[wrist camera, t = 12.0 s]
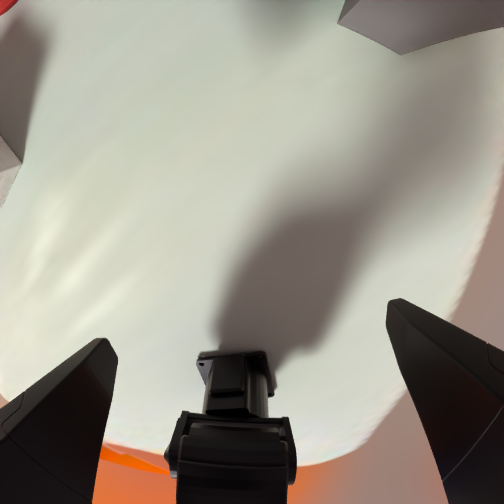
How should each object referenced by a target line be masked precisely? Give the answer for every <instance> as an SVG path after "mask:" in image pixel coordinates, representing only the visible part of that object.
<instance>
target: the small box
mask: <svg viewBox="0 0 504 504" xmlns="http://www.w3.org/2000/svg"><path fill="white" fill-rule="evenodd" d="M21 165H22V163H21V161H20V160H19V159H18V158H17V157H16V155H15V154H14V153H13V151H12V150H11V149H10V148H9V146H8V145H7V144H6V142H5V141H4V140H3V138H2V137H1V136H0V208H1V207H2V206H3V203H4V201H5V199H6V196H7V194H8V192H9V190H10V188H11V186H12V183H13V181H14V179H15V177H16V175H17V173H18V171H19V169H20V167H21Z"/></svg>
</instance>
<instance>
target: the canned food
mask: <svg viewBox="0 0 504 504" xmlns="http://www.w3.org/2000/svg"><path fill="white" fill-rule="evenodd" d="M17 1H18V0H0V16H1V15H2V14H4V13H5V12H7V11H8V10H9V9H10V8H11V7H12V6H13V5H14V4H15V3H16V2H17Z"/></svg>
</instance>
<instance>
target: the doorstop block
mask: <svg viewBox="0 0 504 504" xmlns="http://www.w3.org/2000/svg"><path fill="white" fill-rule="evenodd" d="M337 24H339V25H341V26H344V27H346V28H348V29H350V30H353V31H355V32H357V33H359V34H361V35H363V36H365V37H367V38H369V39H371V40H373V41H375V42H377V43H379V44H381V45H383V46H385V47H387V48H389V49H391V50H392V51H394V52H396V53H398V54H399V55H403V54H406V53H409V52H412V51H414V50H417V49H421V48H424V47H427V46H430V45H433V44H436V43H440V42H443V41H447V40H450V39H454V38H457V37H461V36H465V35H469V34H473V33H477V32H481V31H486V30H491V29H496V28H501V27H504V0H345V3H344V6H343V9H342V11H341V14H340V17H339V20H338V23H337Z"/></svg>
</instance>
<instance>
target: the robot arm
mask: <svg viewBox="0 0 504 504" xmlns="http://www.w3.org/2000/svg"><path fill="white" fill-rule="evenodd" d="M386 329H387V332H388V335H389V338H390V341H391V344H392V347H393V350H394V353H395V357H396V360H397V363H398V366H399V369H400V372H401V374H402V376H403V379H404V381H405V383H406V386H407V388H408V390H409V393H410V395H411V397H412V400H413V402H414V405H415V407H416V410H417V412H418V415H419V417H420V420H421V422H422V425H423V428H424V430H425V433H426V435H427V438H428V441H429V444H430V447H431V449H432V452H433V455H434V458H435V461H436V464H437V467H438V470H439V473H440V476H441V479H442V481H443V486H444V489H445V493H446V496H447V499H448V503H449V504H504V351H502V350H500V349H498V348H496V347H495V346H493V345H491V344H489V343H488V344H487V343H486V342H485V341H483V340H481V339H479V338H478V337H476V336H474V335H472V334H470V333H468V332H466V331H464V330H462V329H461V328H459V327H457V326H455V325H453V324H451V323H449V322H447V321H445V320H443V319H441V318H439V317H438V316H436V315H434V314H432V313H430V312H428V311H426V310H424V309H422V308H420V307H418V306H416V305H414V304H412V303H410V302H408V301H406V300H404V299H402V298H398V299H393V300H390V301H389V302H388V305H387V315H386ZM260 356H262V357H260ZM117 365H118V357H117V355H116V353H115V351H114V349H113V347H112V346H111V344H110V342H109V340H108V339H107V338H95V339H94V340H92V341H91V342H90V343H88V344H87V345H86V346H84V347H83V348H82V349H80V350H79V351H77V352H76V353H75V354H73V355H72V356H71V357H69V358H68V359H67V360H65V361H64V362H63V363H61V364H60V365H59V366H57V367H56V368H54V369H53V370H52V371H50V372H49V373H48V374H46V375H45V376H44V377H42V378H41V379H40V380H38V381H37V382H36V383H34V384H33V385H32V386H31V387H29V388H28V389H27V390H26V391H24V392H23V393H21V394H20V395H19V396H17V397H16V398H15V399H13V400H12V401H11V402H9V403H8V404H6V405H5V406H4V407H2V408H1V409H0V504H92V498H93V492H94V486H95V479H96V473H97V468H98V462H99V457H100V452H101V447H102V442H103V437H104V432H105V428H106V423H107V419H108V415H109V411H110V406H111V402H112V397H113V391H114V384H115V377H116V371H117ZM196 365H197V367H198V370H199V372H200V374H201V376H202V379H203V381H204V383H205V385H206V390H205V396H204V403H203V410H202V414H199V413H190V412H189V411H182V414H181V417H180V418H178V421H177V423H176V427H175V430H174V433H173V436H172V439H171V442H170V444H169V446H168V447H167V449H166V451H165V453H164V459H165V460H166V461H167V462H168V463H169V468H170V475H171V477H172V478H175V479H177V487H176V488H177V489H176V502H177V503H176V504H287V489H288V485H293V484H294V481H295V478H296V470H297V456H296V448H295V443H294V439H293V435H292V430H291V426H290V422H289V417H282V418H269V416H268V398H269V397H273V396H274V387H273V383H272V378H271V373H270V369H269V364H268V359H267V355H266V353H265V352H263V351H259V352H251V353H243V354H234V355H224V356H214V357H202V358H198V359H197V362H196Z"/></svg>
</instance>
